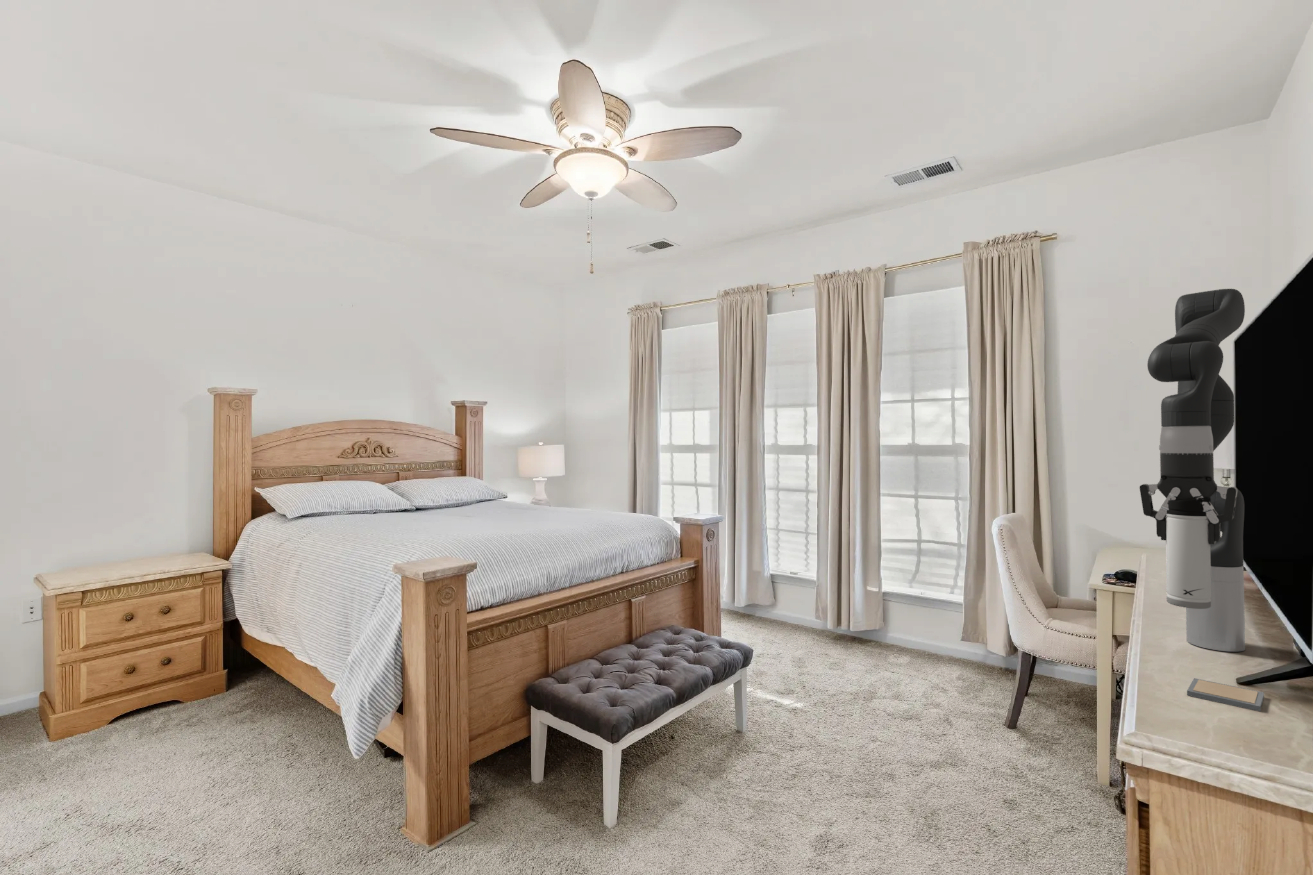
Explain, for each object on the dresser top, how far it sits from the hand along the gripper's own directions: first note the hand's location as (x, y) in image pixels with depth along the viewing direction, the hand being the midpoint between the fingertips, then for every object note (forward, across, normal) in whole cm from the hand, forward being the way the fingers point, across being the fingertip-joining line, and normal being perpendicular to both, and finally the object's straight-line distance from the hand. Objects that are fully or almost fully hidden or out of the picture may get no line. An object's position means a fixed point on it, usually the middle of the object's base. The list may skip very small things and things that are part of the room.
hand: (1187, 541), depth 116 cm
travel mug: (+12, 0, 0) cm, 12 cm away
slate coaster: (+25, -6, +8) cm, 26 cm away
